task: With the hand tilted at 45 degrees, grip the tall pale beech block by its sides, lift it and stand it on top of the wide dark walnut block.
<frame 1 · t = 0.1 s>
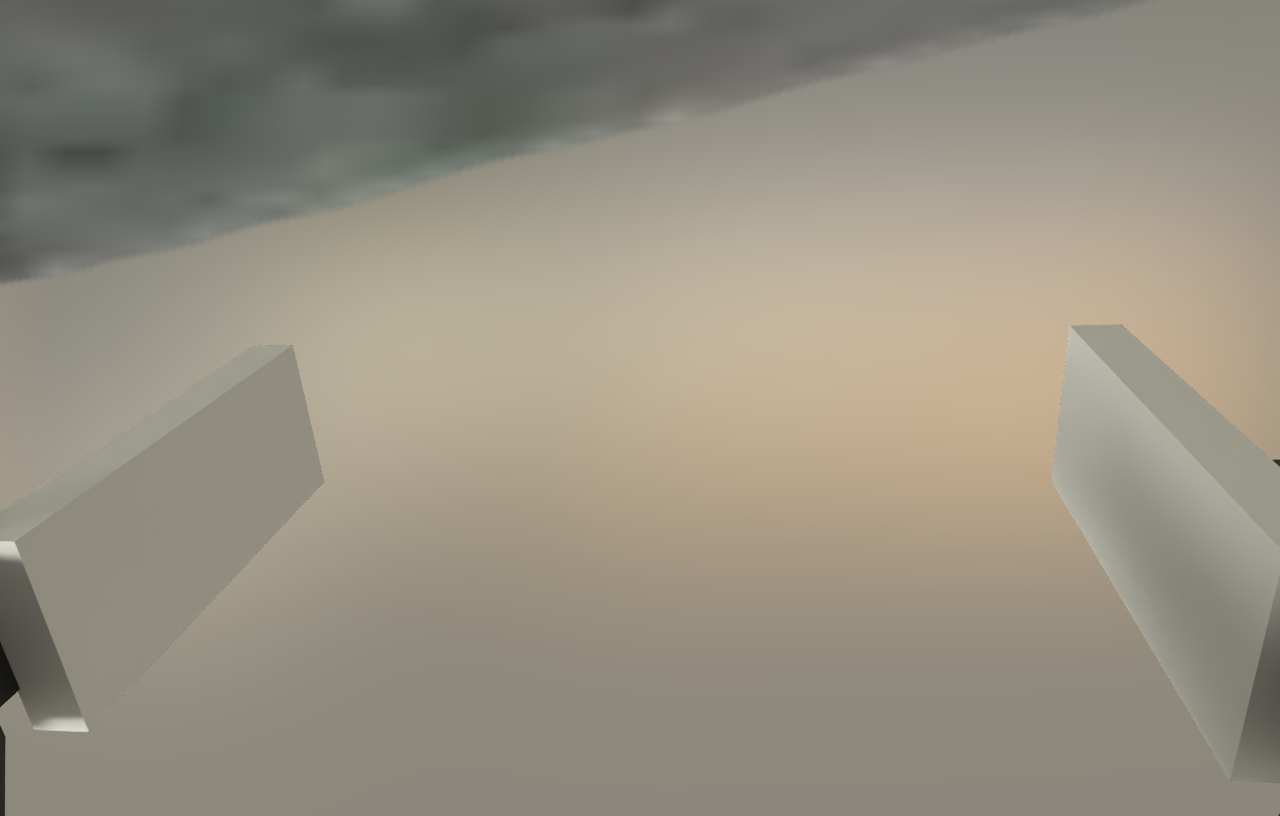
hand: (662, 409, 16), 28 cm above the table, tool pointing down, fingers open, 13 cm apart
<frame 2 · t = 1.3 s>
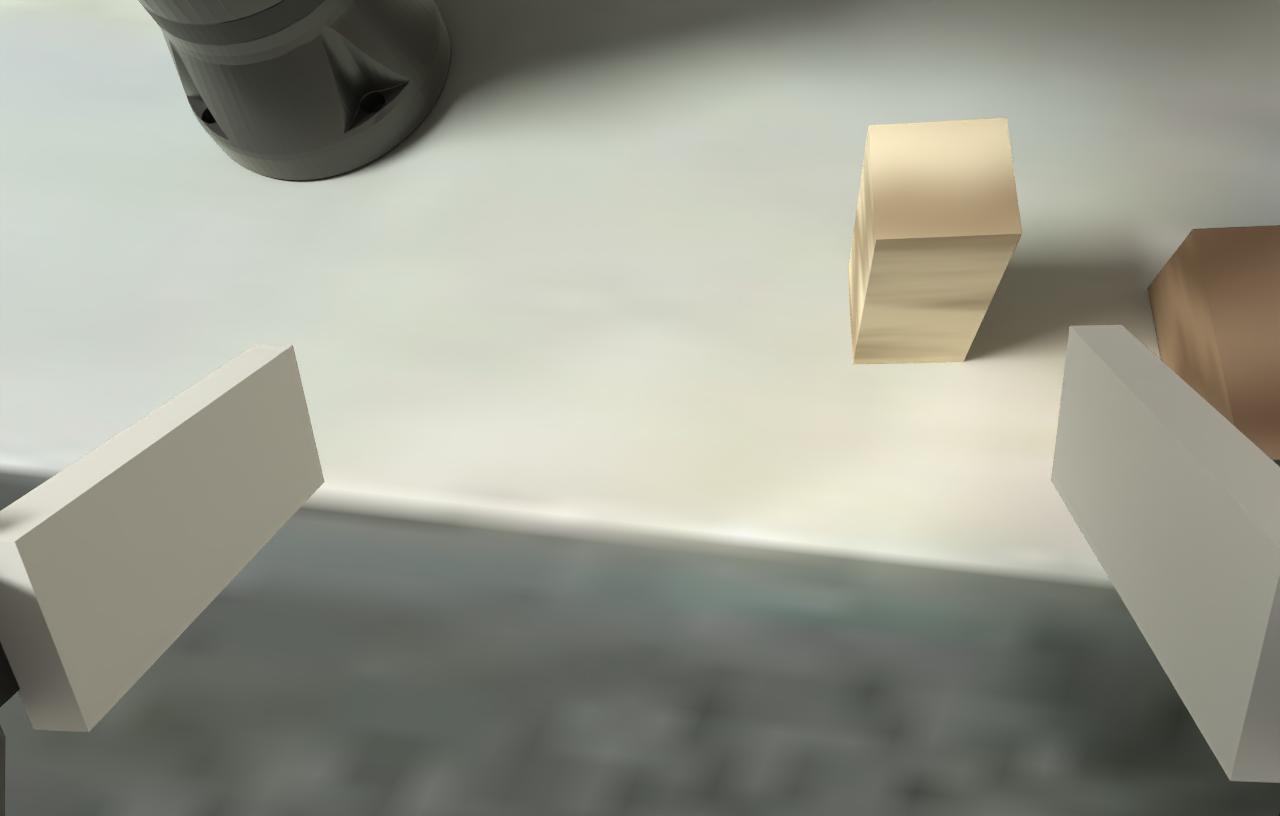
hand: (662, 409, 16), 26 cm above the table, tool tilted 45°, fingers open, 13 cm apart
beech block: (904, 314, 44), on the table
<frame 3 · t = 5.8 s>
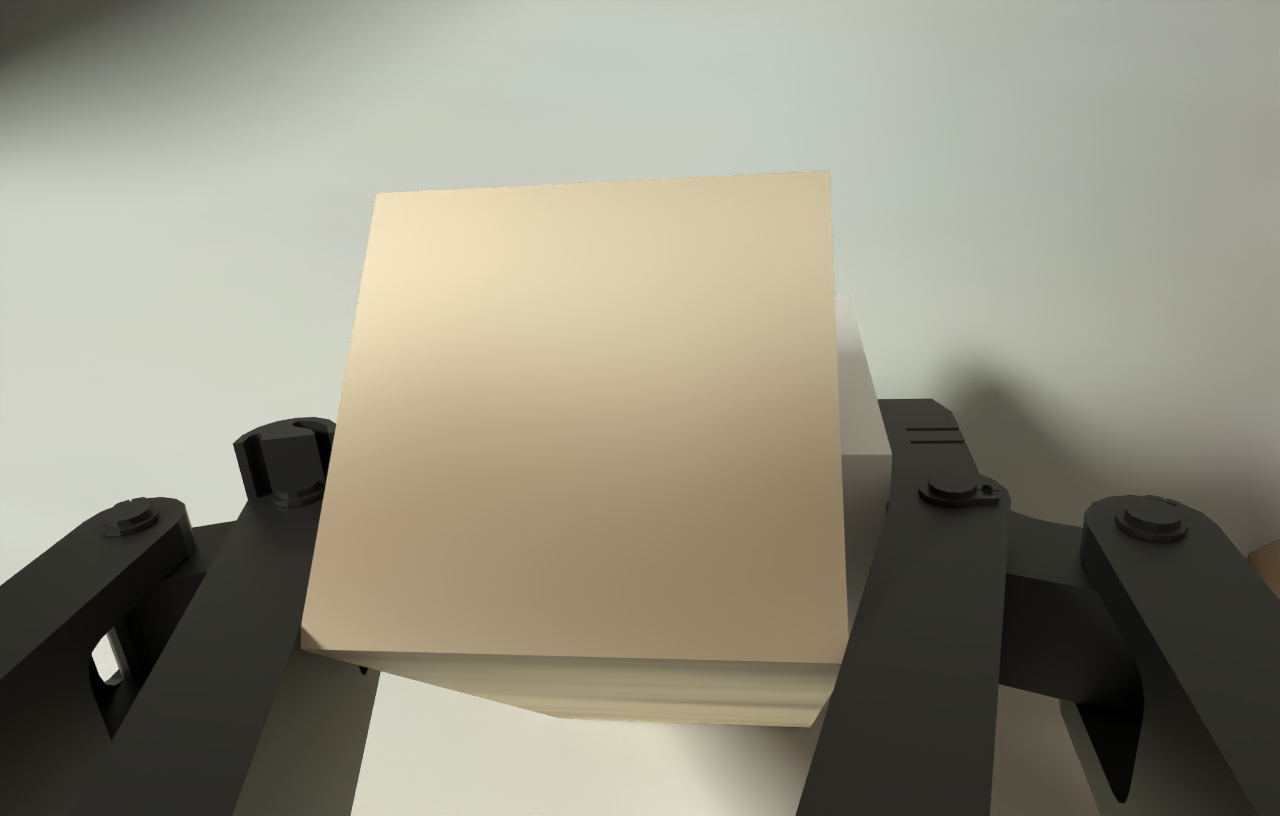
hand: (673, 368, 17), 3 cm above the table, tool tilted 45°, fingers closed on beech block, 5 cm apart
beech block: (685, 596, 19), on the table, touching gripper
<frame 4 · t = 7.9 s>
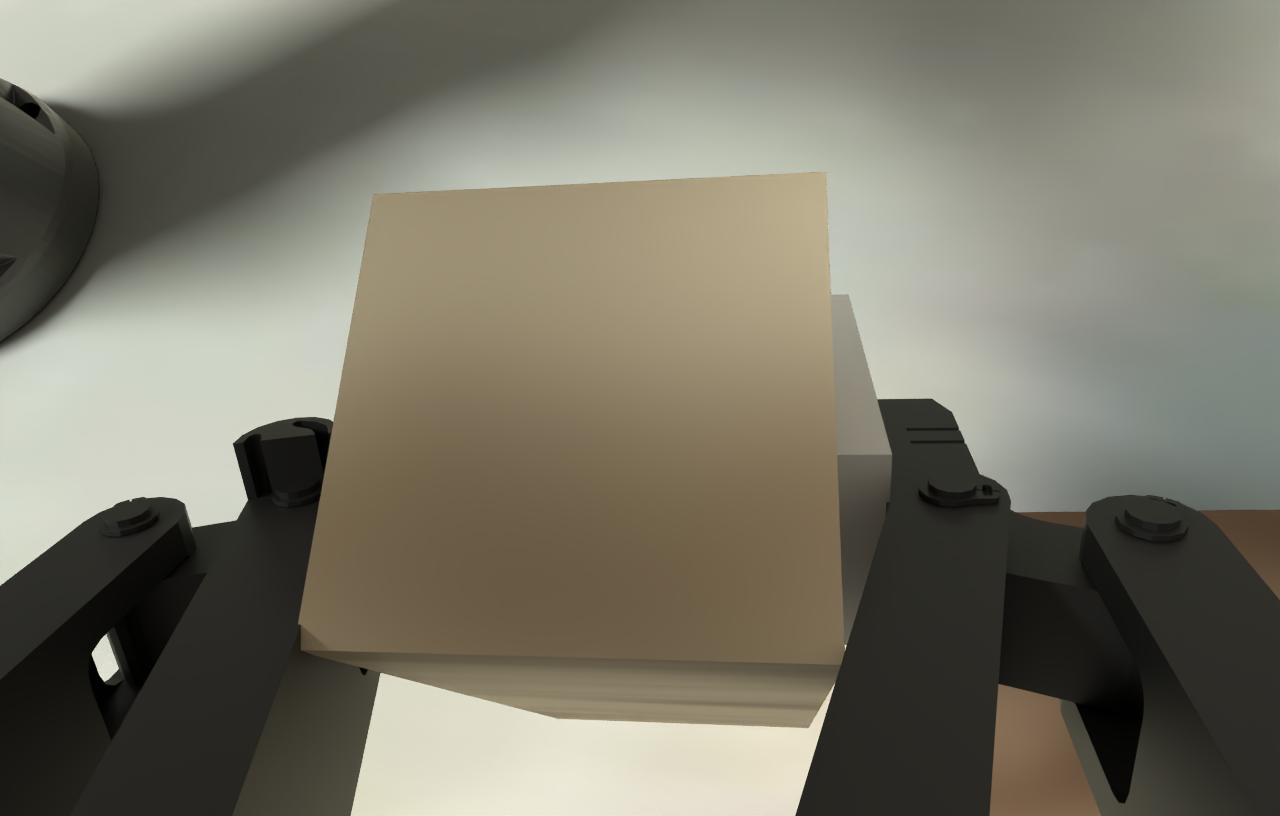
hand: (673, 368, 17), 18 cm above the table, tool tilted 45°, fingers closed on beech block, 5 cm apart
walnut block: (1094, 753, 31), on the table
beech block: (683, 596, 19), point 15 cm above the table, touching gripper
when the fingers open (10 cm above the table, at t = 10.3 s): beech block drops 1 cm, resting on walnut block.
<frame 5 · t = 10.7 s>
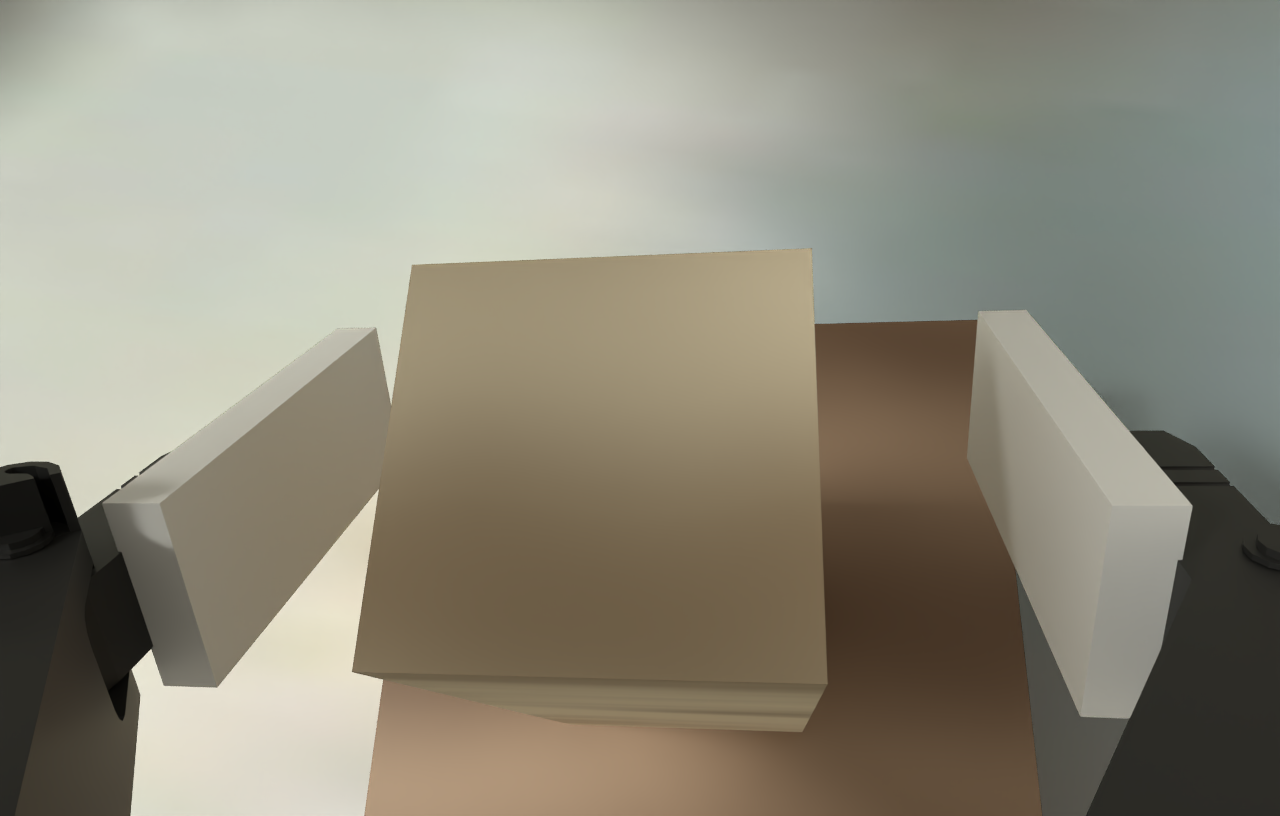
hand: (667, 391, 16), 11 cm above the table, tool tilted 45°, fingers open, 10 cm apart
walnut block: (707, 638, 25), on the table
beech block: (685, 609, 20), point 5 cm above the table, touching walnut block
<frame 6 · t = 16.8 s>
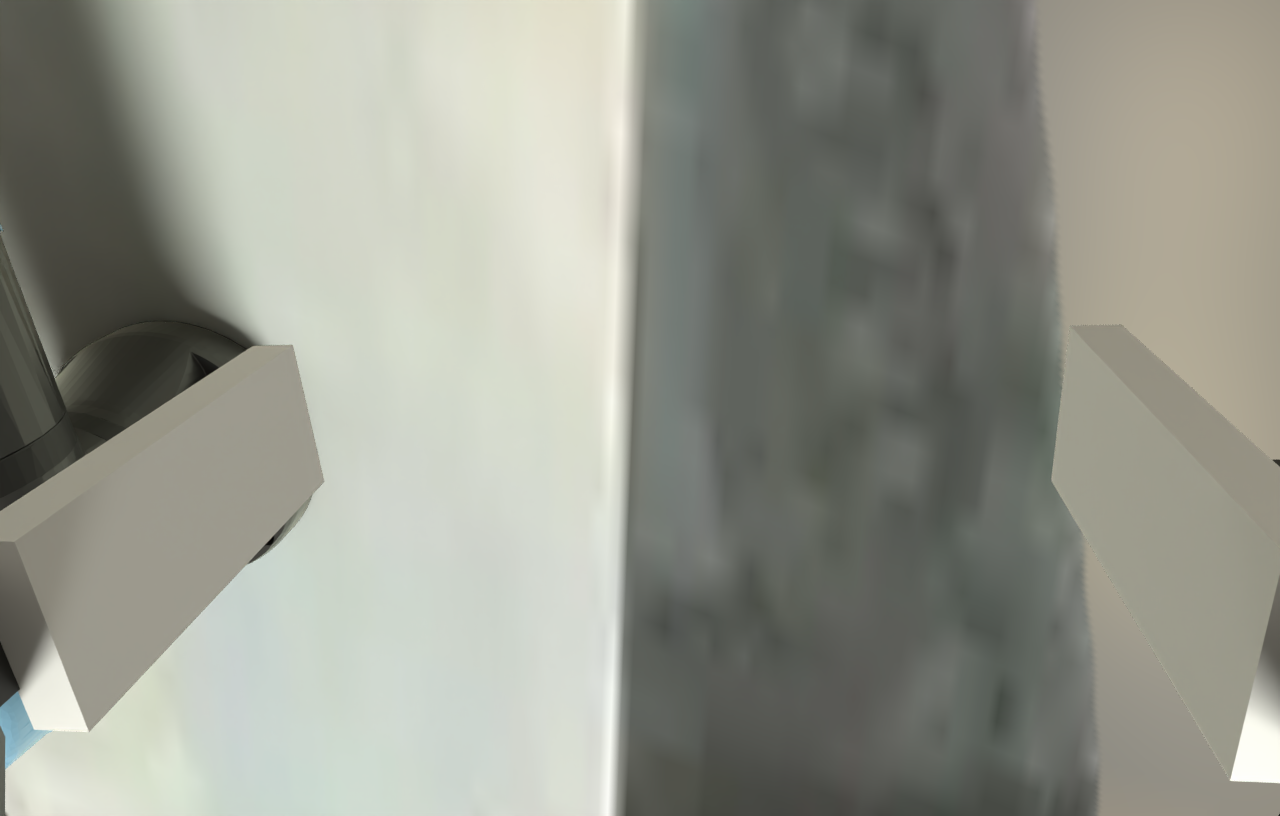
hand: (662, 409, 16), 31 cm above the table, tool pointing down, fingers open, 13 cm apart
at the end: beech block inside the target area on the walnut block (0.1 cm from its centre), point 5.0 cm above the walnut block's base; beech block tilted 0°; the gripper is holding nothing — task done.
